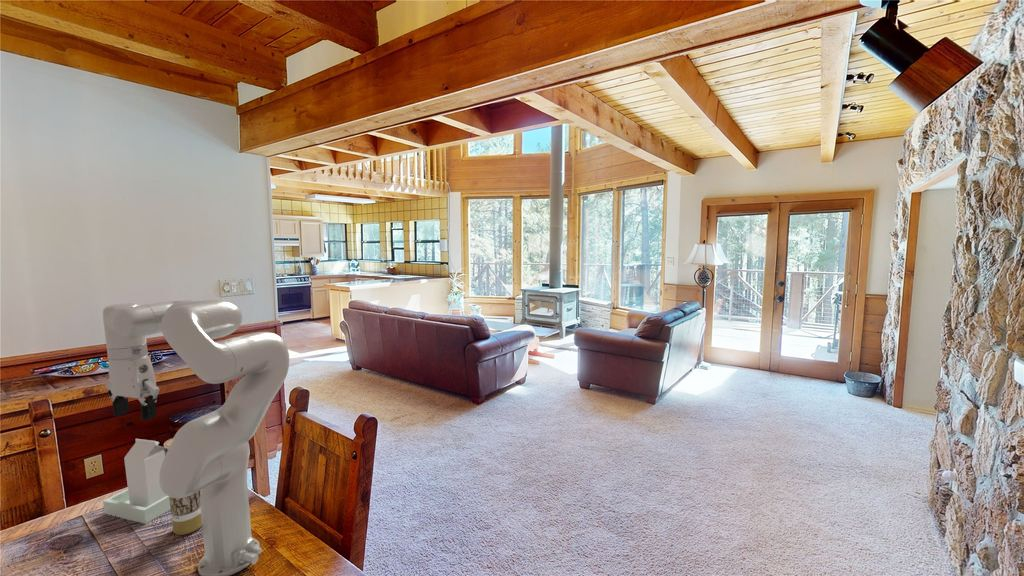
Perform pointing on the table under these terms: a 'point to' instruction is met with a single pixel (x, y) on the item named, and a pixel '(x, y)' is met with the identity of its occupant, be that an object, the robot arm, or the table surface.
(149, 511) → the tray
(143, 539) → the table surface
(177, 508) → the paper tube
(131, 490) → the milk carton
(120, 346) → the robot arm
